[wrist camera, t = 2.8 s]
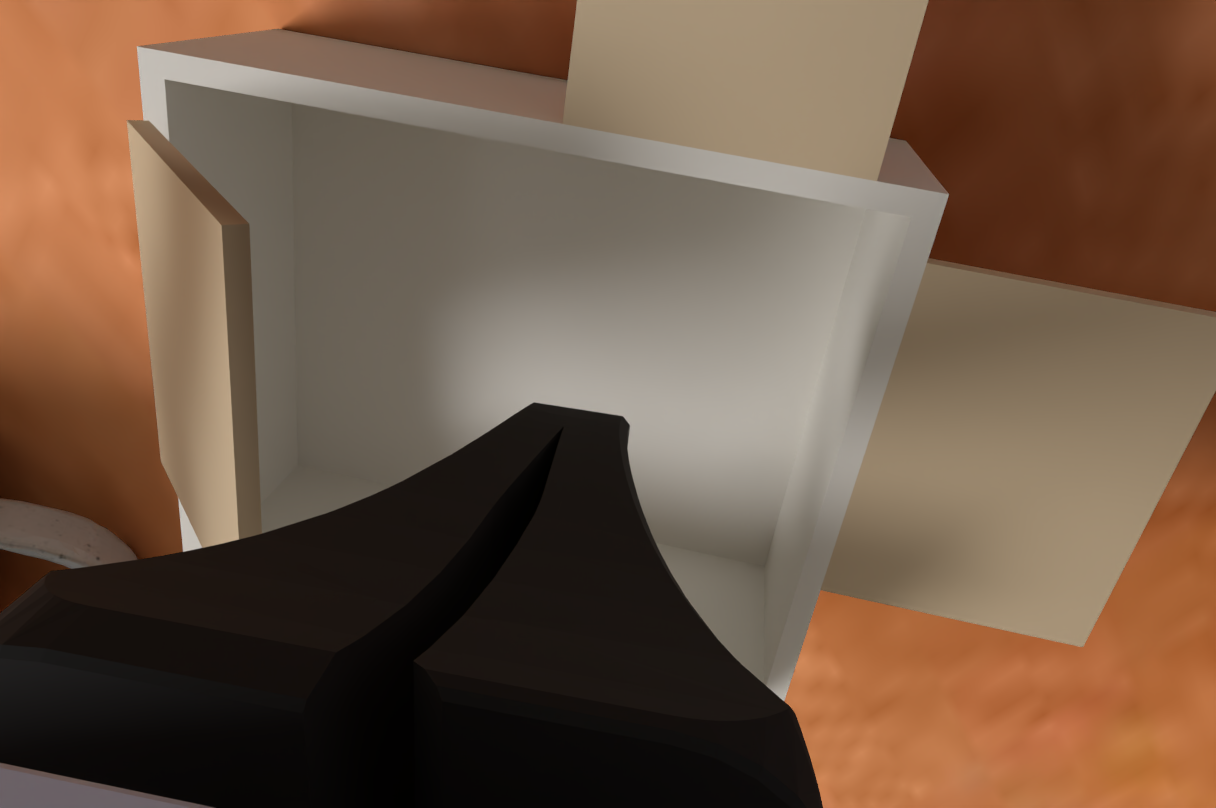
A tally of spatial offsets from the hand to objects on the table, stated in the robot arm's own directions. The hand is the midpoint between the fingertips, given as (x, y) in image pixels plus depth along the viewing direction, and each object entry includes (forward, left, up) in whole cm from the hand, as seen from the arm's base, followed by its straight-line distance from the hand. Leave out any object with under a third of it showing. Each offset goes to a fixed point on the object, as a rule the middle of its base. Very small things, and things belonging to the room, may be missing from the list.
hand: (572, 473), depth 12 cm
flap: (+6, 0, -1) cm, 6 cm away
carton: (-1, -1, -7) cm, 7 cm away
